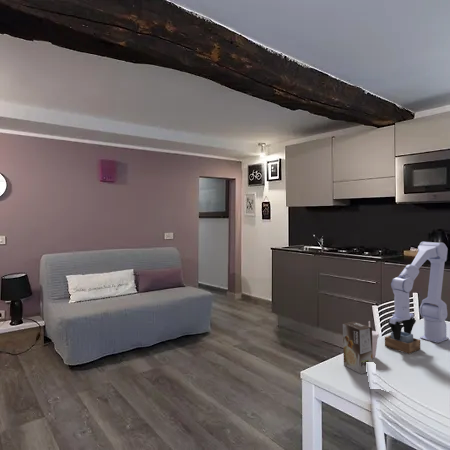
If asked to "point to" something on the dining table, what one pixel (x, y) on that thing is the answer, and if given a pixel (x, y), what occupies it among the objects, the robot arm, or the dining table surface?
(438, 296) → the robot arm
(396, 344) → the walnut crate
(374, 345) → the smoothie
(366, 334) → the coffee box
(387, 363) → the dining table surface
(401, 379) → the dining table surface
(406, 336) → the slate crate
